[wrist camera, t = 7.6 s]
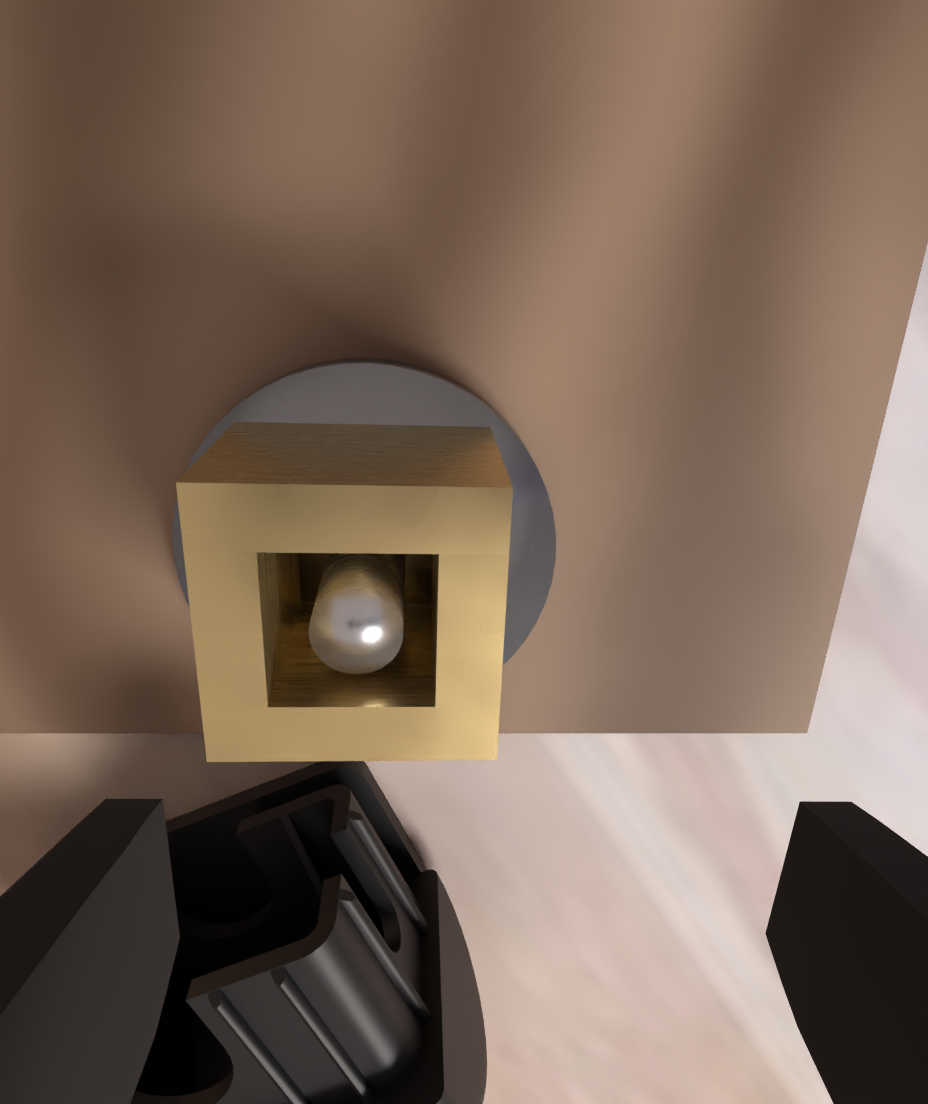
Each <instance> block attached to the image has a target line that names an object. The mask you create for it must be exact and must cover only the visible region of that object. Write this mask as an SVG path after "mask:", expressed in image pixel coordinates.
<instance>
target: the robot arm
mask: <svg viewBox="0 0 928 1104" xmlns="http://www.w3.org/2000/svg"><path fill="white" fill-rule="evenodd" d="M766 936H767V939H768V942H769V945H770V948H771V951H772V954H773V957H774V961H775V964H776V967H777V970H778V973H779V976H780V979H781V982H782V985H783V988H784V990H785V993H786V996H787V999H788V1001H789V1004H790V1007H791V1010H792V1012H793V1015H794V1018H795V1021H796V1024H797V1026H798V1028H799V1031H800V1033H801V1035H802V1037H803V1039H804V1042H805V1044H806V1046H807V1048H808V1050H809V1052H810V1055H811V1057H812V1059H813V1061H814V1063H815V1065H816V1067H817V1069H818V1072H819V1074H820V1076H821V1078H822V1080H823V1082H824V1084H825V1086H826V1088H827V1091H828V1093H829V1095H830V1097H831V1099H832V1101H833V1103H834V1104H928V857H927V856H926V855H925V854H923V853H922V852H921V851H919V850H918V849H917V848H915V847H914V846H912V845H911V844H910V843H908V842H907V841H906V840H904V839H903V838H902V837H900V836H899V835H898V834H896V833H895V832H894V831H892V830H891V829H889V828H888V827H887V826H885V825H884V824H883V823H881V822H880V821H878V820H877V819H876V818H874V817H873V816H871V815H870V814H868V813H867V812H865V811H864V810H862V809H861V808H860V807H858V806H857V805H855V804H854V803H852V802H800V803H799V807H798V811H797V815H796V819H795V822H794V826H793V830H792V834H791V838H790V842H789V845H788V849H787V853H786V857H785V861H784V865H783V869H782V872H781V876H780V880H779V884H778V888H777V892H776V895H775V899H774V903H773V907H772V911H771V915H770V918H769V922H768V926H767V930H766ZM179 939H180V934H179V926H178V918H177V910H176V902H175V894H174V886H173V878H172V870H171V862H170V854H169V846H168V838H167V830H166V822H165V814H164V806H163V799H105V800H104V801H103V802H102V803H101V804H100V805H99V806H98V807H96V808H95V809H94V810H93V811H92V812H91V813H90V814H89V815H88V816H86V817H85V818H84V819H83V820H82V821H81V822H80V823H79V824H78V825H76V826H75V827H74V828H73V829H72V830H71V831H70V832H69V833H68V834H67V835H66V836H65V837H64V838H62V839H61V840H60V841H59V842H58V843H57V844H56V845H55V846H54V847H53V848H52V849H51V850H50V851H49V852H47V853H46V854H45V855H44V856H43V857H42V858H41V859H40V860H39V861H38V862H37V863H36V864H35V865H34V866H33V867H31V868H30V869H29V870H28V871H27V872H26V873H25V874H24V875H23V876H22V877H21V878H20V879H19V880H17V881H16V882H15V883H14V884H13V885H12V886H11V887H10V888H9V889H8V890H7V891H6V892H5V893H3V894H2V895H1V896H0V1104H130V1103H131V1100H132V1098H133V1095H134V1092H135V1089H136V1087H137V1084H138V1081H139V1079H140V1076H141V1073H142V1070H143V1068H144V1065H145V1062H146V1059H147V1057H148V1054H149V1051H150V1048H151V1045H152V1043H153V1040H154V1037H155V1034H156V1030H157V1026H158V1022H159V1019H160V1015H161V1011H162V1007H163V1004H164V1000H165V996H166V992H167V988H168V984H169V980H170V976H171V972H172V968H173V964H174V960H175V955H176V951H177V947H178V943H179Z"/></svg>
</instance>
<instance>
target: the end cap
mask: <svg viewBox="0 0 928 1104" xmlns="http://www.w3.org/2000/svg"><path fill="white" fill-rule="evenodd" d="M166 830H167V838H168V846H169V854H170V862H171V870H172V878H173V886H174V894H175V902H176V910H177V918H178V926H179V934H180V939H179V943H178V947H177V951H176V955H175V960H174V964H173V968H172V972H171V976H170V980H169V984H168V988H167V992H166V996H165V1000H164V1004H163V1007H162V1011H161V1015H160V1019H159V1022H158V1026H157V1030H156V1034H155V1037H154V1040H153V1043H152V1045H151V1048H150V1051H149V1054H148V1057H147V1059H146V1062H145V1065H144V1068H143V1070H142V1073H141V1076H140V1079H139V1081H138V1084H137V1087H136V1089H135V1092H134V1095H133V1098H132V1100H131V1103H130V1104H482V1103H483V1100H484V1094H485V1088H486V1075H487V1052H486V1037H485V1029H484V1020H483V1014H482V1008H481V1002H480V996H479V992H478V987H477V983H476V978H475V974H474V970H473V966H472V962H471V959H470V955H469V951H468V948H467V945H466V942H465V938H464V935H463V932H462V929H461V926H460V924H459V921H458V918H457V916H456V913H455V910H454V908H453V905H452V903H451V901H450V898H449V896H448V894H447V892H446V889H445V887H444V885H443V884H442V882H441V880H440V878H439V876H438V874H437V872H436V871H434V870H425V868H424V865H423V863H422V861H421V859H420V857H419V855H418V853H417V851H416V849H415V847H414V846H413V844H412V842H411V840H410V839H409V837H408V835H407V834H406V832H405V830H404V828H403V827H402V825H401V823H400V822H399V820H398V818H397V816H396V815H395V813H394V811H393V809H392V808H391V806H390V804H389V803H388V801H387V799H386V797H385V796H384V794H383V792H382V791H381V789H380V787H379V785H378V784H377V782H376V780H375V779H374V777H373V775H372V773H371V772H370V770H369V768H368V766H367V765H366V764H365V763H364V762H363V761H321V762H318V763H316V764H313V765H311V766H308V767H305V768H303V769H300V770H298V771H295V772H293V773H290V774H287V775H285V776H282V777H280V778H277V779H275V780H272V781H269V782H267V783H264V784H262V785H259V786H256V787H254V788H251V789H249V790H246V791H244V792H241V793H238V794H236V795H233V796H231V797H228V798H226V799H223V800H220V801H218V802H215V803H213V804H210V805H208V806H205V807H202V808H200V809H197V810H195V811H192V812H190V813H187V814H184V815H182V816H179V817H177V818H174V819H172V820H169V821H166Z"/></svg>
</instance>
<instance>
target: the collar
mask: <svg viewBox="0 0 928 1104" xmlns="http://www.w3.org/2000/svg"><path fill="white" fill-rule="evenodd" d="M176 488H177V497H178V506H179V515H180V524H181V533H182V542H183V551H184V560H185V569H186V578H187V588H188V597H189V606H190V615H191V624H192V633H193V642H194V651H195V660H196V669H197V678H198V687H199V696H200V705H201V714H202V723H203V732H204V741H205V750H206V759H207V762H288V761H424V760H497V749H498V732H499V715H500V699H501V682H502V665H503V648H504V632H505V615H506V598H507V582H508V565H509V548H510V532H511V515H512V498H513V486H512V483H511V481H510V478H509V475H508V473H507V470H506V468H505V465H504V462H503V460H502V457H501V454H500V452H499V449H498V446H497V444H496V441H495V438H494V436H493V433H492V430H491V428H490V427H467V426H418V425H369V424H320V423H270V422H234V423H233V424H232V425H231V426H230V427H229V428H228V429H227V430H226V431H225V432H224V433H223V434H222V435H221V436H220V437H219V438H218V440H217V441H216V442H215V443H214V444H213V445H212V446H211V447H210V448H209V449H208V450H207V451H206V452H205V453H204V454H203V455H202V456H201V457H200V458H199V459H198V460H197V461H196V462H195V463H194V464H193V465H192V466H191V467H190V468H189V470H188V471H187V472H186V473H185V474H184V475H183V476H182V477H181V478H180V479H179V480H178V481H177V482H176ZM298 553H372V554H432V597H431V603H404V624H403V640H402V644H401V647H400V649H399V651H398V653H397V655H396V656H395V657H394V659H393V660H392V661H391V662H390V663H388V664H387V665H386V666H384V667H382V668H381V669H379V670H376V671H374V672H370V673H366V674H348V673H343V672H340V671H337V670H335V669H333V668H331V667H329V666H328V665H326V664H325V663H324V662H323V661H321V660H320V659H319V657H318V656H317V655H316V654H315V652H314V650H313V648H312V646H311V644H310V640H309V623H310V619H311V616H312V612H313V609H314V605H315V603H304V602H301V596H300V576H299V556H298Z"/></svg>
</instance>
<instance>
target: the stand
mask: <svg viewBox="0 0 928 1104" xmlns="http://www.w3.org/2000/svg"><path fill="white" fill-rule="evenodd" d="M234 422H270V423H320V424H369V425H418V426H467V427H490V428H491V430H492V433H493V436H494V438H495V441H496V444H497V446H498V449H499V452H500V454H501V457H502V460H503V462H504V465H505V468H506V470H507V473H508V475H509V478H510V481H511V483H512V486H513V498H512V515H511V532H510V548H509V565H508V582H507V598H506V615H505V632H504V648H503V665H504V664H505V663H506V662H507V661H508V660H510V659H511V657H512V656H513V655H514V654H515V653H516V651H517V650H518V649H519V648H520V647H521V645H522V644H523V643H524V642H525V640H526V639H527V637H528V635H529V634H530V632H531V631H532V629H533V628H534V626H535V624H536V623H537V621H538V618H539V616H540V614H541V612H542V610H543V608H544V605H545V603H546V600H547V597H548V594H549V590H550V587H551V584H552V579H553V573H554V567H555V561H556V531H555V523H554V515H553V511H552V507H551V503H550V499H549V496H548V492H547V489H546V487H545V484H544V482H543V480H542V477H541V475H540V473H539V470H538V468H537V466H536V464H535V462H534V460H533V458H532V457H531V455H530V453H529V452H528V450H527V448H526V447H525V445H524V443H523V442H522V440H521V438H520V437H519V436H518V434H517V433H516V432H515V431H514V429H513V428H512V427H511V426H510V424H509V423H508V422H507V421H506V420H505V418H503V417H502V416H501V415H500V414H499V413H498V412H497V411H496V410H495V409H494V408H493V407H492V406H491V405H490V404H489V403H488V402H486V401H485V400H484V399H482V398H481V397H480V396H478V395H477V394H475V393H474V392H473V391H471V390H470V389H468V388H467V387H465V386H463V385H462V384H460V383H458V382H456V381H454V380H452V379H450V378H449V377H447V376H445V375H442V374H440V373H437V372H434V371H432V370H429V369H426V368H424V367H421V366H418V365H413V364H409V363H405V362H400V361H396V360H388V359H378V358H342V359H337V360H331V361H325V362H319V363H315V364H312V365H308V366H305V367H302V368H299V369H296V370H292V371H290V372H288V373H286V374H284V375H282V376H280V377H277V378H275V379H273V380H271V381H269V382H267V383H266V384H264V385H263V386H261V387H260V388H258V389H257V390H255V391H254V392H252V393H251V394H249V395H248V396H247V397H246V398H244V399H243V400H242V401H241V402H240V403H239V404H238V405H237V406H235V407H234V408H233V409H232V410H231V411H230V412H229V413H228V414H227V415H226V416H224V417H223V418H222V419H221V420H220V421H219V423H218V424H217V425H216V426H215V427H214V429H213V430H212V431H211V432H210V433H209V434H208V436H207V437H206V438H205V439H204V441H203V442H202V444H201V445H200V447H199V449H198V450H197V452H196V454H195V455H194V457H193V458H192V460H191V462H190V464H189V467H188V469H187V471H188V470H189V468H190V467H191V466H192V465H193V464H194V463H195V462H196V461H197V460H198V459H199V458H200V457H201V456H202V455H203V454H204V453H205V452H206V451H207V450H208V449H209V448H210V447H211V446H212V445H213V444H214V443H215V442H216V441H217V440H218V438H219V437H220V436H221V435H222V434H223V433H224V432H225V431H226V430H227V429H228V428H229V427H230V426H231V425H232V424H233V423H234ZM187 471H186V472H187ZM173 554H174V560H175V565H176V571H177V576H178V580H179V583H180V586H181V589H182V592H183V595H184V598H185V600H186V602H187V604H188V606H189V597H188V588H187V578H186V569H185V560H184V551H183V542H182V533H181V524H180V515H179V506H178V498H177V502H176V506H175V513H174V522H173ZM298 556H299V576H300V596H301V602H304V603H315V605H314V609H313V612H312V616H311V619H310V623H309V640H310V644H311V646H312V648H313V650H314V652H315V654H316V655H317V656H318V657H319V659H320V660H321V661H323V662H324V663H325V664H326V665H328V666H329V667H331V668H333V669H335V670H337V671H340V672H343V673H348V674H366V673H370V672H374V671H376V670H379V669H381V668H382V667H384V666H386V665H387V664H388V663H390V662H391V661H392V660H393V659H394V657H395V656H396V655H397V653H398V651H399V649H400V647H401V644H402V640H403V624H404V603H431V597H432V554H372V553H298ZM189 608H190V606H189ZM503 665H502V666H503Z"/></svg>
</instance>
